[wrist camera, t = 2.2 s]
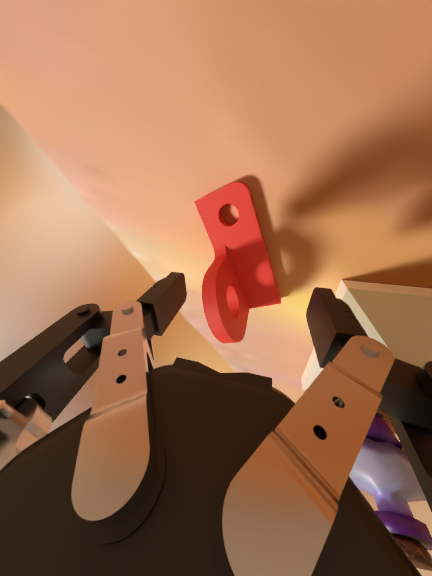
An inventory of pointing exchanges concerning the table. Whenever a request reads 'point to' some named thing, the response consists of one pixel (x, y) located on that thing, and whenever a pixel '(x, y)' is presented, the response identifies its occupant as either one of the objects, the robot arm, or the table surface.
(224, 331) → the bracket
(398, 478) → the potion bottle
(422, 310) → the cleat board
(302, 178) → the table surface
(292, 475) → the robot arm
